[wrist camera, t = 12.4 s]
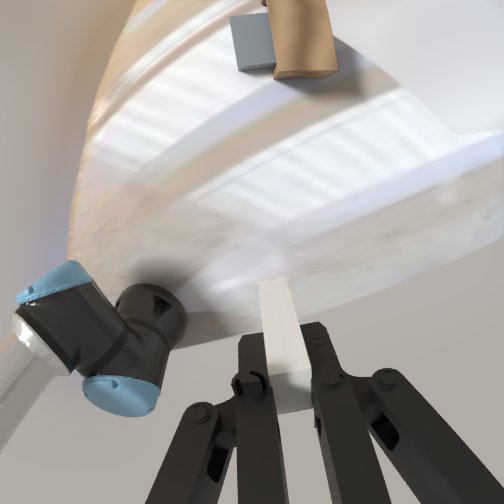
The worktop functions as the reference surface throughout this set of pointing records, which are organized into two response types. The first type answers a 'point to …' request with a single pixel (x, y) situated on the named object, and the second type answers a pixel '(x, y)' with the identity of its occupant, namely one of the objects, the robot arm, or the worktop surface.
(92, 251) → the worktop surface
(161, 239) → the worktop surface
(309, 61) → the tan wooden channel
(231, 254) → the worktop surface
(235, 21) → the tile
